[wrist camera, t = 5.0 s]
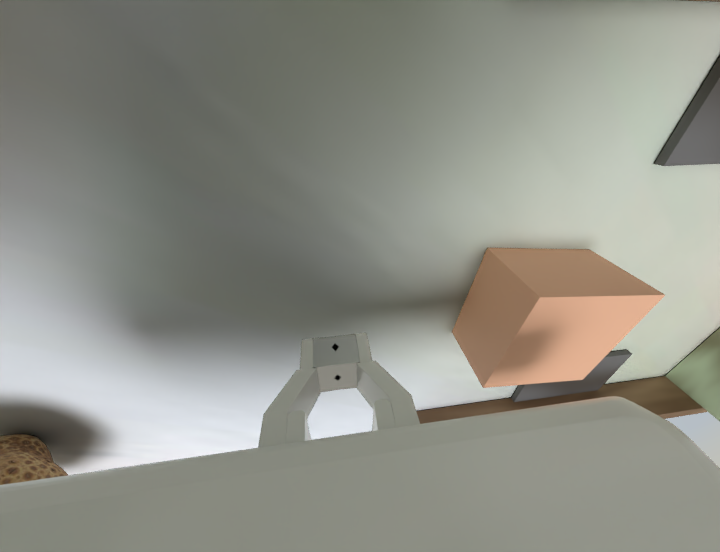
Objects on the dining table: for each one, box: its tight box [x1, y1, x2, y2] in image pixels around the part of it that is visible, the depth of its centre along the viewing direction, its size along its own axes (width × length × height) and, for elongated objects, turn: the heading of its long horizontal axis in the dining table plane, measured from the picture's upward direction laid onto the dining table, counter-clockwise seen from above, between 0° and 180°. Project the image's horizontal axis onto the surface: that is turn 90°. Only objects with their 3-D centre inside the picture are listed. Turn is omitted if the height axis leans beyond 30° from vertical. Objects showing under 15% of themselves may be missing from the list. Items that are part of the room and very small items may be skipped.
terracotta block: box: [452, 248, 665, 388], centre depth 14 cm, size 6×6×4 cm
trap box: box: [416, 0, 720, 424], centre depth 14 cm, size 26×25×5 cm
